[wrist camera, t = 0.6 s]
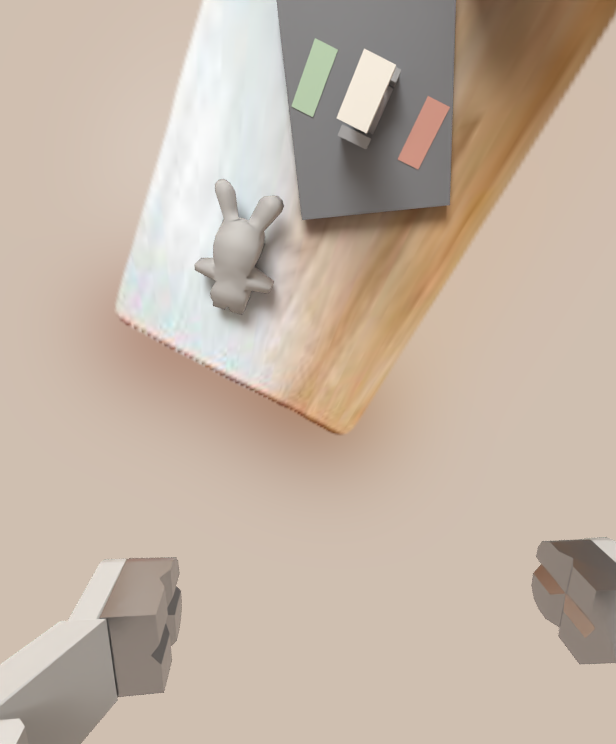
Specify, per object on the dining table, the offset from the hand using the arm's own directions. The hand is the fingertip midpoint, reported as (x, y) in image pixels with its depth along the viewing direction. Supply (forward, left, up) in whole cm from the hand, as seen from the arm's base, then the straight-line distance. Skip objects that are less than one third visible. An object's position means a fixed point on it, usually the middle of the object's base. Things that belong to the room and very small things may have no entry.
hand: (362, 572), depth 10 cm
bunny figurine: (+1, -16, -47) cm, 49 cm away
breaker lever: (-12, 0, -44) cm, 45 cm away
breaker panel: (-12, 0, -46) cm, 48 cm away
